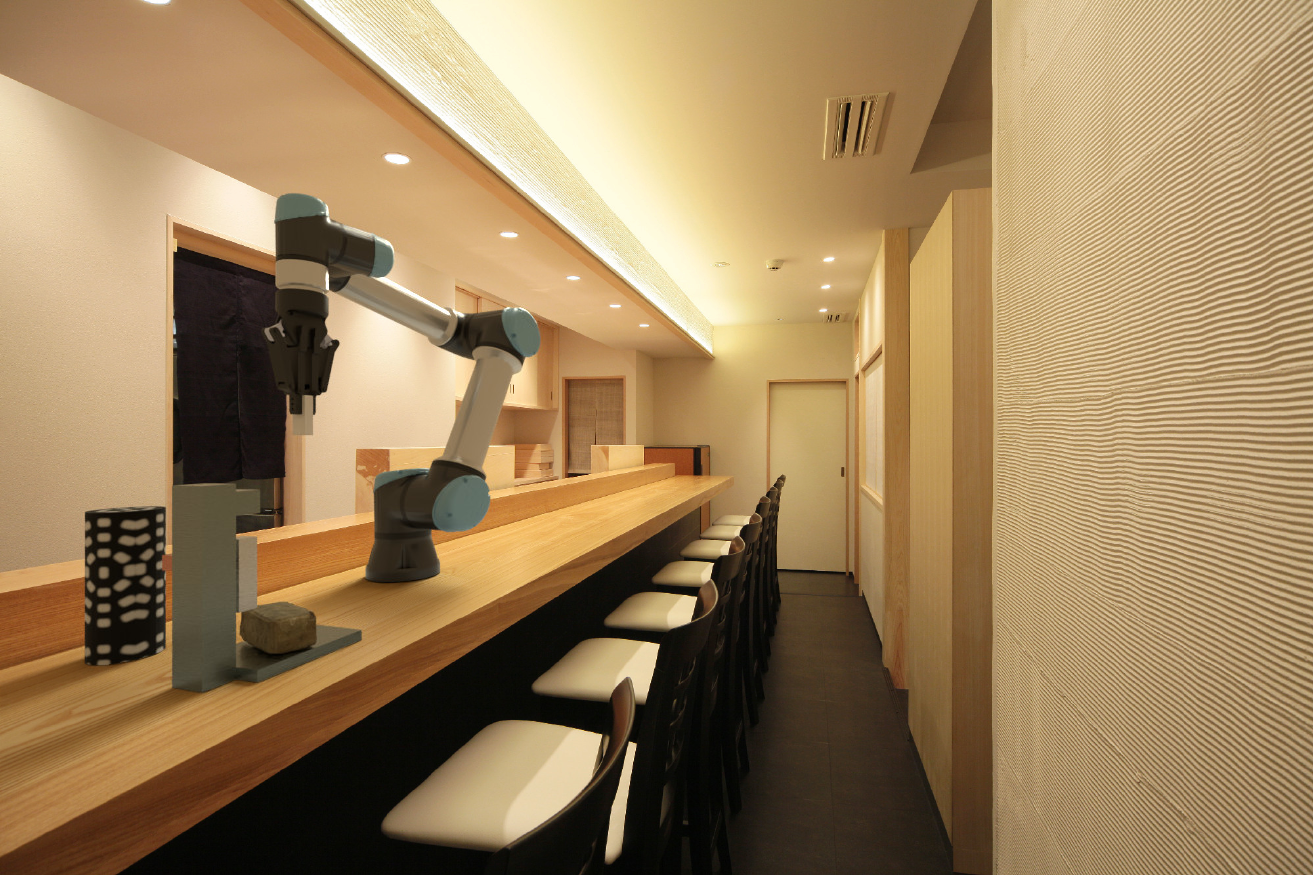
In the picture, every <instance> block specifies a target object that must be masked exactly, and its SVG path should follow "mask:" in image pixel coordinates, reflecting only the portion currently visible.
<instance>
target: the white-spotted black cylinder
mask: <svg viewBox="0 0 1313 875" xmlns="http://www.w3.org/2000/svg"><path fill="white" fill-rule="evenodd" d="M166 554H167V507H166V506H163V505H162V506H157V505H155V506H154V505H150V506H149V505H148V506H145V505H144V506H125V507H111V508H101V509H93V510H92V509H91V510H87V511H85V512H84V663H85V664H86V665H89V666H108V665H109V664H111V665H117V664H118V663H119V664H123V663H122V662H125V663H128V662H129V661H130V662H133V661H132V660H134V661H138V660H141V659H140V658H142V659H146V658H148V656H149V657H152V656H155V655H156V654H159V653H161V652H162V651H164V650H166V647H167V631H166V630H167V573H166V572H167V571H165V570H162V555H166ZM154 654H155V655H154ZM145 657H146V658H145Z"/></svg>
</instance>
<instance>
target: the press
mask: <svg viewBox="0 0 1313 875" xmlns="http://www.w3.org/2000/svg"><path fill="white" fill-rule="evenodd" d="M171 489H172V490H171V492H172V493H171V502H172V503H171V505H172V506H171V510H172V511H171V523H172V524H171V532H172V533H171V534H172V535H171V536H172V537H171V546H172V547H171V554H172V571H171V573H172V574H171V592H172V593H171V596H172V597H171V599H172V600H171V605H172V606H171V622H172V623H171V626H172V627H171V628H172V629H171V631H172V632H171V633H172V634H171V636H172V637H171V643H172V645H171V657H172V658H171V659H172V660H171V661H172V662H171V670H172V671H171V675H172V676H171V685H172V686H171V688H172V689H178V690H184V691H185V690H186V691H189V692H195V693H196V692H197V693H201V694H203V693H205V692H208V691H210V690H212V689H215V688H218V687H221V686H223V685H225V684H226V685H227V683H231V682H233V681H236V680H237V681H243V682H244V681H245V682H250V683H251V682H252V683H256V684H257V683H260V682H263V681H265V680H268V679H270V678H273V677H275V676H277V675H280V674H282V673H285V672H288V671H290V670H292V669H294V668H297V667H300V666H302V665H304V664H307V663H309V662H311V661H314V660H316V659H319V658H321V657H323V656H326V655H329V654H330V653H331V654H332V653H333V652H336V651H338V650H340V649H343V648H346V647H348V646H351V645H353V644H355V643H358V642H361V641H362V640H363V638H362V637H363V636H362V634H363V630H362V629H358V628H349V627H343V626H342V627H340V626H331V625H321V624H316V634H317V641H316V644H315V645H312V646H308V647H306V648H304V649H301V650H295V651H290V652H286V653H282V654H270V653H267V652H264V651H263V650H260V649H259V648H256V647H255V646H253V645H250V644H248V643H247V642H246V641H244V640H243V641H241V642H237V613H236V537H237V516H239V517H240V516H244V515H245V516H247V515H253V514H260V513H261V489H251V488H250V489H247V488H246V489H245V488H242V489H241V488H237V483H216V482H214V483H212V482H211V483H210V482H209V483H207V482H205V483H204V482H203V483H193V484H176V485H171Z"/></svg>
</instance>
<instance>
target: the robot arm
mask: <svg viewBox="0 0 1313 875" xmlns="http://www.w3.org/2000/svg"><path fill="white" fill-rule="evenodd" d="M275 204H276V205H275V214H274V220H273V221H274V222H273V224H275V225H274V233H275V234H274V235H275V236H274V237H275V239H274V240H275V246H274V247H275V287H276V288H277V290H276V291H275V292H274V293H275V294H274V296H275V307H274V308H275V312H276V313H277V314H278V315H277V318H276V320H275V324H274V325H272V326H270V327H263V328H261V330H260V334H261V335H262V337H263V339H264V340H265V342H266V344H267V349H268V353H269V358H270V363H271V367H272V371H273V377H274V381H275V385H276V388H277V390H279V391H282V392H283V394H284V395H286V396H288V399H289V400H288V403H289V404H288V406H289V408H288V410H289V415H292V436H314V416H315V415H316V413H317V396H321V395H322V394H323V393H327V391H328V389H329V388H328V387H329V384H330V378H331V374H332V369H333V368H332V367H333V363H334V358H335V353H336V352H337V350H338V348H339V347H340V346H341V343H340V341H339V340H338V339H333V338H332V336H330V335H329V334H328V332H329V331H328V327H327V324H326V321H327V318H328V317H329V315H330V314H329V313H330V312H329V309H330V308H329V307H330V306H329V302H330V301H329V297H328V295H327V294H328V293H329V292H332V293H334V294H336V295H338V296H341V297H343V298H345V299H347V300H349V301H351V302H353V303H355V304H357V305H359V306H362V307H364V308H366V309H368V310H370V311H371V312H374V313H377V314H378V315H380V316H382V317H385V318H387V319H389V320H391V321H393V322H395V323H397V324H399V325H402V326H403V327H406V328H407V329H410V330H412V331H414V332H416V333H418V334H420V335H422V336H424V337H427V340H428V342H429V343H430V344H431V345H434V346H436V347H437V348H439V349H442V350H444V351H446V352H449V353H451V354H453V355H456V356H459V357H461V358H464V359H467V360H472V361H475V364H474V367H473V371H472V373H471V375H470V379H469V382H468V384H467V387H466V389H465V393H464V396H463V398H462V401H461V403H460V407H459V409H458V412H457V414H456V417H455V420H454V423H453V426H452V429H451V431H450V434H449V437H448V439H447V442H446V445H445V448H444V450H443V453H442V455H440V456H438V457H436V458H434V459H432V461H431V464H430V467H429V468H428V467H417V468H416V467H415V468H414V467H413V468H406V469H405V468H404V469H395V470H390V471H389V470H388V471H382V472H380V473H378V474H377V475H376V476H375V478H374V481H373V482H374V483H373V485H374V486H373V490H372V493H373V518H374V519H373V527H374V528H373V529H374V530H373V531H374V532H373V535H374V537H373V541H374V542H373V545H372V548H371V552H370V553H369V557H368V563H366V565H365V572H364V573H365V574H364V576H365V580H367V581H370V582H375V583H376V582H378V583H396V582H397V583H399V582H409V581H416V580H417V581H418V580H422V579H427V578H430V577H434V576H436V575H438V574H439V573H441V561H440V558H439V557H438V553H437V550H436V547H435V544H434V540H433V537H432V534H433V533H432V531H442V532H444V533H456V532H461V533H462V532H466V531H470V530H472V529H474V528H475V527H477V526H478V525H479V524H480V523H481V522H482V521H483V520H484V519H485V517H486V515H487V513H488V511H489V510H490V509H489V508H490V505H491V494H490V492H491V491H490V488H489V485H488V483H487V482H486V479H487V473H486V472H485V470H484V468H483V465H484V463H485V459H486V456H487V454H488V450H489V447H490V444H491V441H492V438H493V436H494V433H495V429H496V426H497V424H498V420H499V417H500V414H501V412H502V409H503V406H504V402H505V399H506V396H507V393H508V390H509V387H510V384H511V381H512V378H513V375H516V374H518V373H520V372H521V371H522V368H523V366H524V363H525V360H526V359H527V358H532V357H533V356H534V355H536V354H537V353H538V352H539V349H540V347H541V341H542V340H541V339H542V338H541V332H540V329H539V325H538V322H537V321H536V320H535V317H533V315H532V314H531V313H530V312H529V311H528V309H527V310H526V309H525V308H522V307H518V306H517V307H509V306H508V307H505V308H503V309H495V310H489V311H488V310H487V311H480V312H474V313H473V312H472V313H470V312H467V313H466V312H461V311H460V312H459V311H457V310H455V309H453V308H451V307H448V306H447V307H445V306H444V307H440V306H438V305H437V304H435V303H433V302H431V301H429V300H427V299H425V298H424V297H421V296H419V295H418V294H417V293H414V292H412V291H410V290H409V289H407V288H405V287H403V286H401V285H399V284H397V283H396V282H394V281H392V280H390V279H388V278H386V277H388V275H389V274H390V272H391V271H392V269H393V267H394V263H395V250H394V247H393V245H392V244H391V243H390V241H389V240H387V239H385V238H383V237H381V236H379V235H376V234H374V233H373V232H368V231H365V230H362V229H359V228H356V227H353V226H350V225H348V224H345V223H341V222H339V221H337V220H336V219H332V218H330V216H331V215H330V211H329V207H328V205H327V203H326V202H324V201H322V200H321V198H318V197H315V196H313V195H309V194H305V193H297V192H295V193H294V192H291V193H285V194H281V195H280V196H279V197H278V198H277V199H276V202H275Z"/></svg>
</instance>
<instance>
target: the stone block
mask: <svg viewBox="0 0 1313 875" xmlns="http://www.w3.org/2000/svg"><path fill="white" fill-rule="evenodd" d="M316 625H317V616H316V614H315V612H314V611H313V610H310V609H307V608H306V607H302V606H299V605H298V604H294V603H292V602H291V603H290V602H288V601H277V602H271V603H265V604H264V603H263V604H257V608H254V609H251V610H247V611H244V612H240V625H239V636H240V637H241V639H242V640H243V641H246V642H247V643H248V644H250V645H253V646H255V647H256V648H259V649H260V650H263V651H264V652H267V653H270V654H282V653H286V652H290V651H295V650H301V649H304V648H306V647H308V646H312V645H315V644H316V641H317V634H316Z"/></svg>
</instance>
